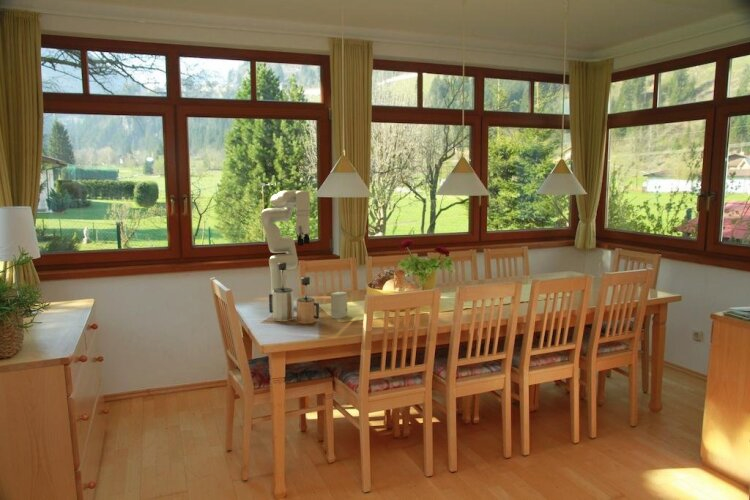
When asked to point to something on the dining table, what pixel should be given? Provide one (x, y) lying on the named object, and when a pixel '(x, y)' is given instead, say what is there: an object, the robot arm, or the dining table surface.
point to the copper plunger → (305, 282)
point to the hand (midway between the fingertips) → (303, 244)
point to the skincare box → (338, 305)
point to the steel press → (282, 304)
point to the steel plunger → (282, 267)
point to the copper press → (307, 310)
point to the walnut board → (291, 322)
